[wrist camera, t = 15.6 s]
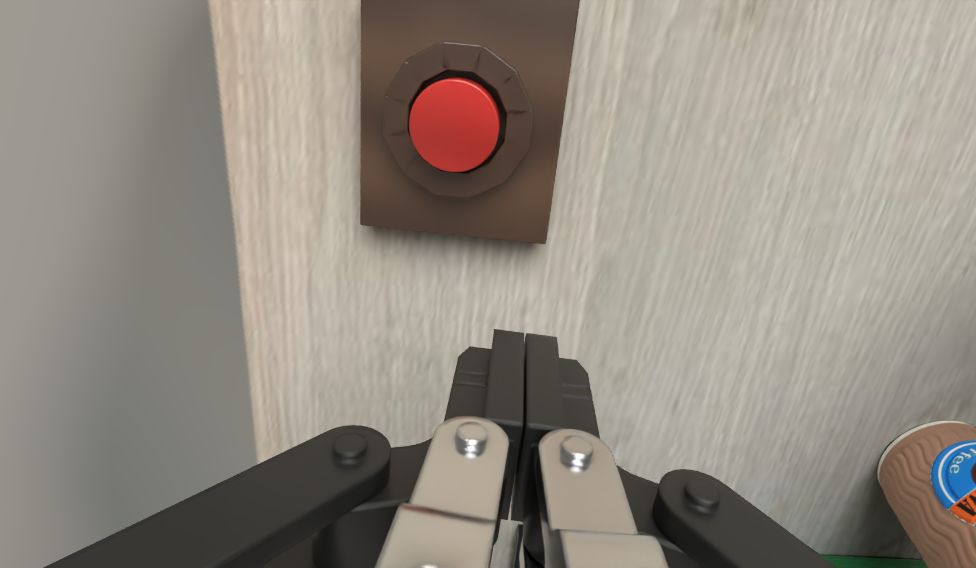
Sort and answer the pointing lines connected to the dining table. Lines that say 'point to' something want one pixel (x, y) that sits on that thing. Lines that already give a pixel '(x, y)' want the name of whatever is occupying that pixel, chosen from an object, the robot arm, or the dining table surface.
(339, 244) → the dining table surface
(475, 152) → the button
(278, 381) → the dining table surface
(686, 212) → the dining table surface
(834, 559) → the planter
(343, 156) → the dining table surface
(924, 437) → the coffee cup
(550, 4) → the block
